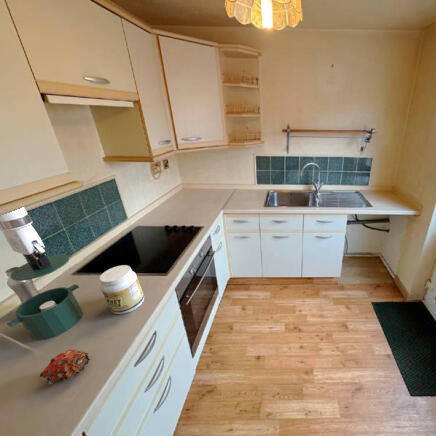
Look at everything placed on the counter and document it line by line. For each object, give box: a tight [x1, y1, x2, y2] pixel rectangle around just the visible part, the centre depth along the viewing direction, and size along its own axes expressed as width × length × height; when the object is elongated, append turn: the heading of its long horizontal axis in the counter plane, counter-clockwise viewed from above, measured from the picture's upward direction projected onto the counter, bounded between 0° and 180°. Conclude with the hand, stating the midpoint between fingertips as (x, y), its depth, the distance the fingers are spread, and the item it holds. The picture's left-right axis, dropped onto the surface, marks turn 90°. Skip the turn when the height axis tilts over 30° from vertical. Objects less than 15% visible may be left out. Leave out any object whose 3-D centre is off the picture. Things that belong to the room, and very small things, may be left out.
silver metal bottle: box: [4, 266, 41, 305], centre depth 93 cm, size 6×7×20 cm
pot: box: [6, 283, 84, 341], centre depth 87 cm, size 15×20×12 cm
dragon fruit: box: [39, 349, 91, 386], centre depth 71 cm, size 8×8×12 cm
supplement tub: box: [99, 264, 145, 315], centre depth 94 cm, size 12×12×17 cm
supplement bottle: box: [40, 301, 57, 312], centre depth 87 cm, size 5×5×10 cm
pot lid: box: [10, 252, 70, 281], centre depth 85 cm, size 16×16×7 cm
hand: (40, 265), depth 86 cm, fingers closed on pot lid, 4 cm apart
